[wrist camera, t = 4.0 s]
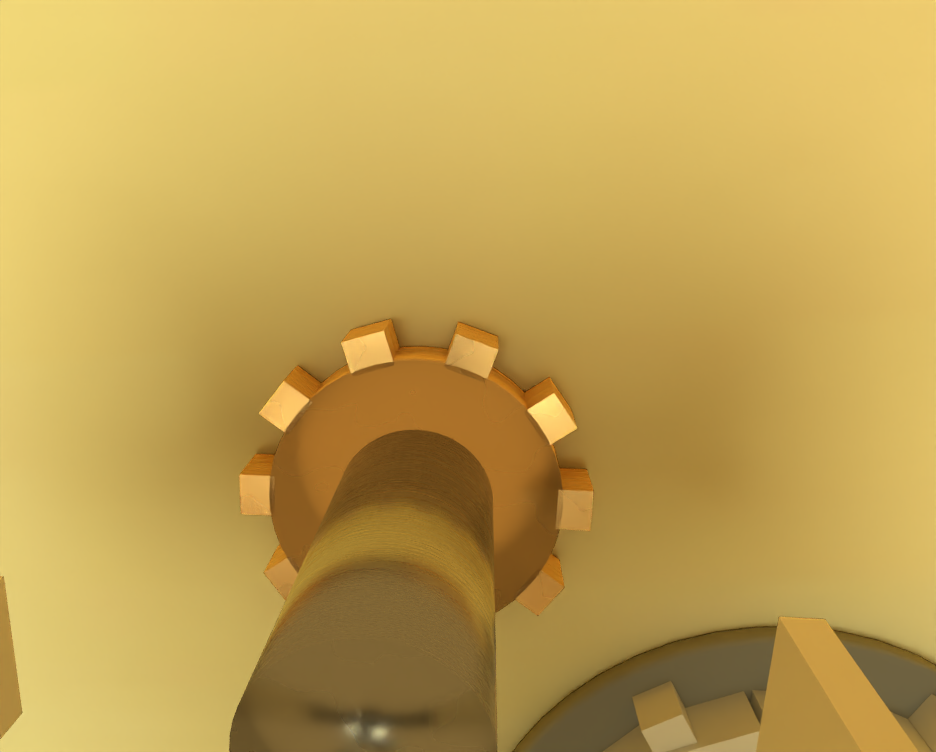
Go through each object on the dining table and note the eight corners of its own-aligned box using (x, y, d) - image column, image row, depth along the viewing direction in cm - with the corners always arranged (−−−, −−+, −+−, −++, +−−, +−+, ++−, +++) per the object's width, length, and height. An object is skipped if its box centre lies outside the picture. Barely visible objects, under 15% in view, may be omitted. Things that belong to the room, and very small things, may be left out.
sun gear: (260, 615, 23) (86, 971, 13) (251, 312, 21) (27, 460, 11) (572, 630, 23) (639, 1000, 13) (598, 328, 21) (706, 491, 11)
